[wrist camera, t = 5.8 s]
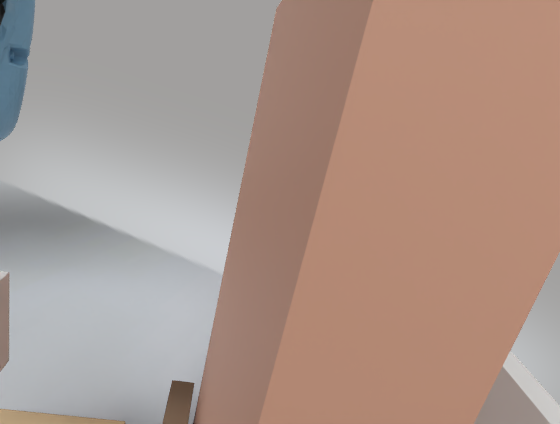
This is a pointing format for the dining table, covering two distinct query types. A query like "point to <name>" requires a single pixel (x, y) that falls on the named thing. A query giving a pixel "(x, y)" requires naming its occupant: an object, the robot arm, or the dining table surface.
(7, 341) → the robot arm
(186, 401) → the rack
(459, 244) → the sheet
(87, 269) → the dining table surface
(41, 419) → the offcut stack
